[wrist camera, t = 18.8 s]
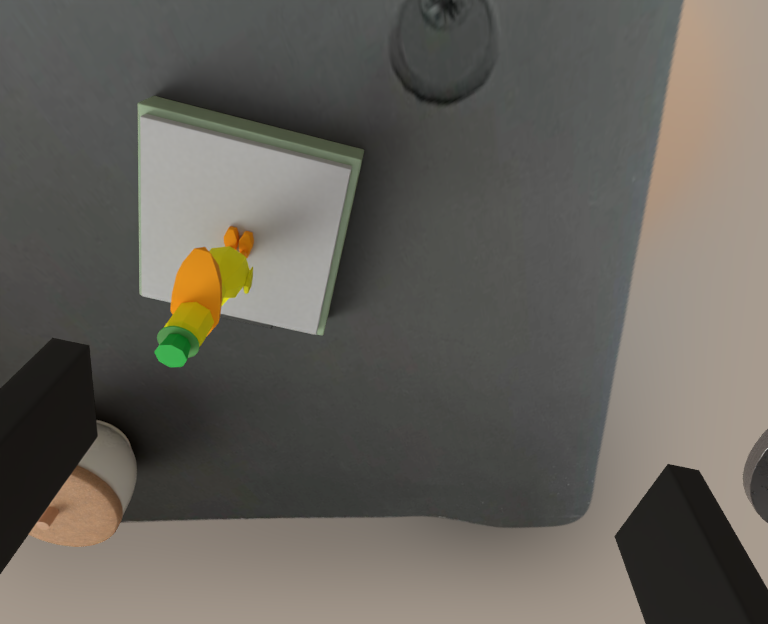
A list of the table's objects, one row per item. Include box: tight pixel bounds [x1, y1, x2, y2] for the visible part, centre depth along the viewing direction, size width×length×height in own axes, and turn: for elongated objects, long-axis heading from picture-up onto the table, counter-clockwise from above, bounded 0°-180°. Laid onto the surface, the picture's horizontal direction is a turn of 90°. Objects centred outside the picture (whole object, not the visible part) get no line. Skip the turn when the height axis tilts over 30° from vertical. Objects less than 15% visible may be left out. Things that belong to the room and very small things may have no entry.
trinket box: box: [28, 420, 137, 547], centre depth 48 cm, size 11×11×9 cm
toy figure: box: [154, 226, 254, 367], centre depth 31 cm, size 7×4×12 cm, turn 165°
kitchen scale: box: [138, 96, 364, 335], centre depth 37 cm, size 14×15×3 cm
